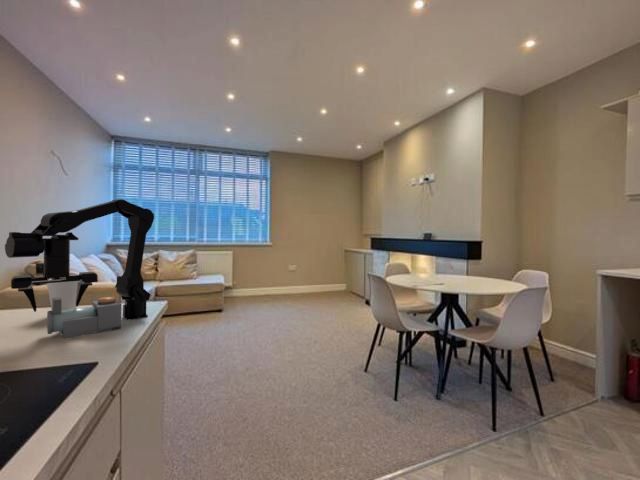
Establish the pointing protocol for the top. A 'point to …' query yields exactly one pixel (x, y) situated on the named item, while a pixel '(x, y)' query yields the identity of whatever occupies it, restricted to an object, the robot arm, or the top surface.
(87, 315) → the cartridge
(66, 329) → the housing
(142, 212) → the robot arm
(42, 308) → the top surface
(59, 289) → the foam cup
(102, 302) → the plunger
